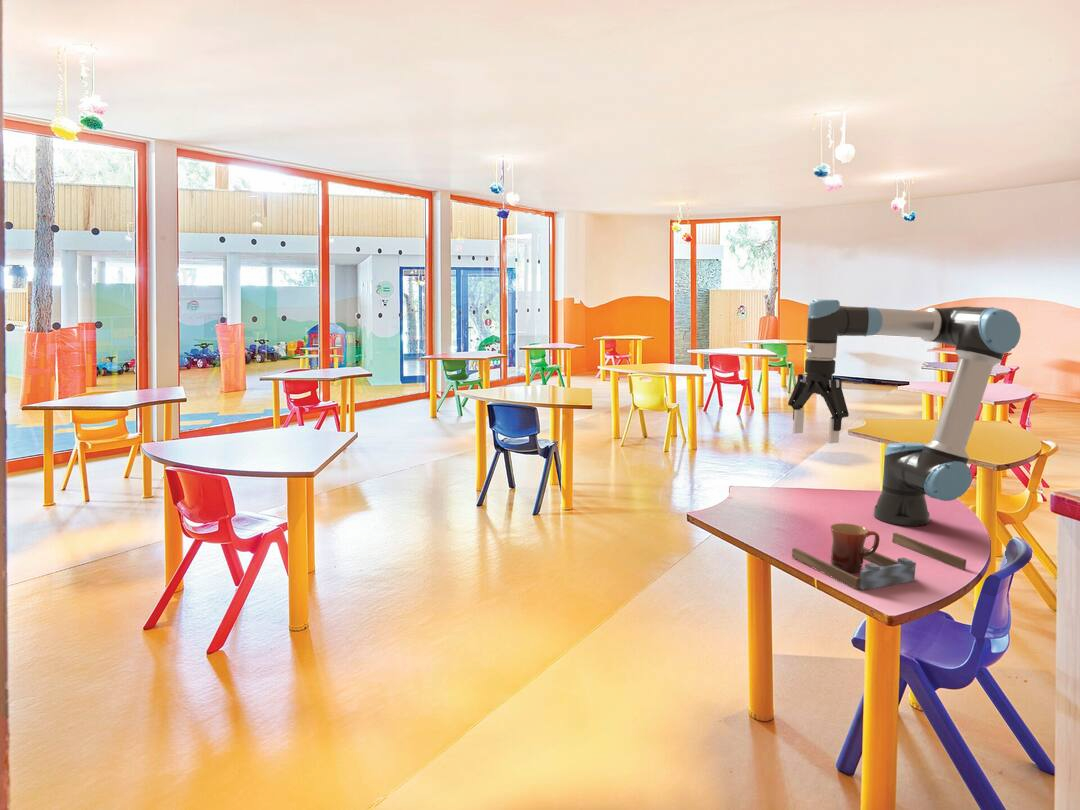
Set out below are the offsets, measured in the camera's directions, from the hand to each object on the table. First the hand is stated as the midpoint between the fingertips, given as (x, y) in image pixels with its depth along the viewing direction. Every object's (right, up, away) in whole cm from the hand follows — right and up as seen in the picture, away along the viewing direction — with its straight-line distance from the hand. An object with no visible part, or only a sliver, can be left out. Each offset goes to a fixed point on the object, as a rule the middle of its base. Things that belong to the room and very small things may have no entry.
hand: (815, 437), depth 209 cm
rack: (+11, -31, -12) cm, 35 cm away
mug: (+4, -32, -15) cm, 36 cm away
